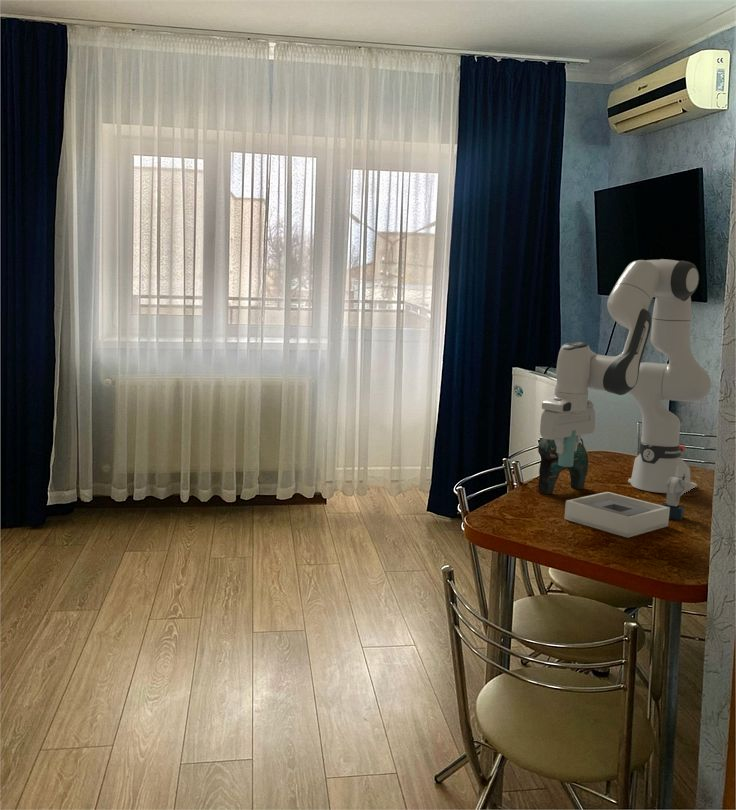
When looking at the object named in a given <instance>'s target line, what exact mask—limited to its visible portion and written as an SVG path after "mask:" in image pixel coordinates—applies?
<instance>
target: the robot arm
mask: <svg viewBox="0 0 736 810" xmlns="http://www.w3.org/2000/svg"><path fill="white" fill-rule="evenodd" d="M699 281H700V272H699V270H698V268H697V266H696V265H695V264H694V263H692V262H691V261H687V260H686V261H685V260H675V259H667V258H666V259H664V258H660V259H646V260H645V259H638V260H633V261H631V262H630V263H629V264H628V265H627V266H626V267H625V268H624V270H623V272H622V273H621V275H620V276H619V278H618V280H617V281H616V283H615V285H614V286H613V288H612V290H611V292H610V293H609V296H608V298H607V303H606V304H607V305H606V306H607V311H608V313H609V315H610V316H611V318H612V320H614V321H615V322H616V323H617V324H618V325H620V326H622V327H623V328H626V330H628V333H627V337H626V340H625V343H624V347H623V349H622V352H621V353H620V354H619V355H616V356H611V355H604V354H599V353H598V354H597V352H594V351H592V349H591V348H590V345H589V344H588V343H587V342H583V341H574V342H573V341H570V342H567V343H564V344H562V345H561V347H560V349H559V352H558V354H557V355H558V356H557V361H556V370H555V376H556V385H555V387H554V394H552V395H551V396H549V397H548V398H547V399H545V400H543V401H542V402H541V409H542V410H543V411H542V413H541V417H540V424H539V434H540V436H541V439H542V438H545V439H550V440H553V439H554V441H555V444H556V447H557V450H556V452H557V453H559V454H562V453H565V447H563V443H562V442H563V441H564V438H565V437H570V436H571V435H572V431H574V430H576V437H575V448H574V451H577V445H578V443H579V442H581V440H580V439H581V438H582V436H583V435H584V436H585V435H591V434H593V433H594V431H595V429H596V414H595V413H596V412H595V408H594V404H593V402H592V401H591V400H589V398H588V397H589V389H590V390H591V389H592V390H596V391H602V392H607V393H610V394H614V395H617V396H624V395H626V394H629V395H630V396H631V398H633V399H634V401H635V402H636V404H637V406H638V407H639V410H640V414H641V421H642V423H641V440H640V441H639V445H638V453H639V454H638V455H637V456H636V457H635V459H634V461H633V466H632V467H633V468H632V473H631V477H630V478H628V480H627V483H630V485H631V486H632V487H634V488H635V489H638V490H642V491H646V492H652V493H657V494H658V493H661V494H667V492H668V487H667V485H665V484H666V483H668V480H669V479H670V477H678V478H681V479H682V480H684V481H685V483H686V488H685V490H684V492H683V494H682V495H685V494H686V492H687V493H689V492H690V490H691V489H693V488H695V487H696V486H697V487H698V483H695V482H693V481H691V468H690V467H689V466H688V464H687V463H686V462H685V461H684V460H683V459H682V457H681V456H682V454H681V453H682V452H685V450H686V446H685V445H683V444H680V435H681V434H680V433H681V426H682V425H681V420H680V418H679V417H678V416H677V415H676V414H675V413H673V412H671V411H670V410H669V409H667V408H666V407H665V406H664V402H663V400H668V401H675V402H684V403H686V402H687V403H688V402H689V403H690V402H701V401H703V400H704V399H706V397H707V396H708V394H709V393H710V390H711V387H712V380H711V377H710V374H709V373H708V372H707V370H705V369H704V368H703V367H702V366H701V365H700V364H699V362H697V360H696V359H695V357H694V354H693V352H692V348H691V339H690V338H691V337H690V336H691V321H692V298H691V297H692V295H693V294H694V293H695V292H696V290H697V288H698V286H699V283H700V282H699ZM653 298H655V299H654V303H653V304H654V305H653V309H652V315H651V312H649V308H650V305H651V303H652V301H653ZM649 336H650V343H651V345H652V346H653V349H655V350H656V351H658V352H660V353H662V354H664V355H665V356H666V357H667V359H668V362H669V363H662V362H661V363H659V362H658V363H657V362H650V361H649V362H648V361H647V362H644V361H643V362H642V359H643V356H644V352H645V349H646V346H647V343H648V339H649ZM697 487H696V488H697ZM696 488H695V489H696ZM693 490H694V489H693ZM688 491H689V492H688ZM691 491H692V490H691ZM684 493H685V494H684Z"/></svg>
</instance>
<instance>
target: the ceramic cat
mask: <svg viewBox="0 0 736 810" xmlns="http://www.w3.org/2000/svg"><path fill="white" fill-rule="evenodd" d="M556 450H557V447H556V444H555V441H554V439H553V440H550V439H545V438H542V437H541V439H540V440H539V443H538V448H537V452H538V454H539V456H540V464H539V469H538V475H539V476H538V483H537V485H538V487H537V488H538V491H540V492H542V493H545V494H544V495H546V494H548V495H552V493H554V490H555V489H554V488H555V486H556V482H557V480H558V477H559V476H560V473H561V472H562V471H565V470H568V473H569V477H570V488H571V487H572V488H573V489H575V490H577V489H578V490H582V489H584V488H585V482H586V479H587V476H588V475H587V474H588V472H589V471H588V470H589V469H588V468H589V458H588V457H589V456H588V453H587V450H586V447H585V445H584V440H583V438H582V437H581V439H580V441H579V443H578V445H577V451H574V460H573V466H572V467H564V466H559V465H558V459H559V453H557V452H556ZM538 491H537V492H538ZM542 493H541V494H542Z"/></svg>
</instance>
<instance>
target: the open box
mask: <svg viewBox="0 0 736 810" xmlns="http://www.w3.org/2000/svg"><path fill="white" fill-rule="evenodd" d="M669 512H670V508H669V507H665V506H662V504H658V503H653V502H650V501H646V500H641V499H637V498H634V497H629V496H627V495H622V494H619V493H614V492H609V491H604V492H600V493H595V494H590V495H586V496H581V497H577V498H572V499H567V500H565V507H564V518H563V519H564V520H566V521H568V522H569V521H570V522H573V523H576V524H579V525H583V526H587V527H589V528H590V527H591V528H593V529H597V530H600V531H603V532H607V533H611V534H613V535H617V536H620V537H624V538H628V539H629V538H631V537H635V536H639V535H642V534H645V533H649V532H653V531H656V530H659V529H662V528H666V527H669Z"/></svg>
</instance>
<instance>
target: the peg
mask: <svg viewBox="0 0 736 810" xmlns="http://www.w3.org/2000/svg"><path fill="white" fill-rule="evenodd" d="M575 437H576V430H574V431H572V435H571V436H570V437H565V438H564V441H563V442H562V443H563V447H565V453H562V454H559V459H558V465H559V466H564V467H572V466H573V460H574V448H575Z"/></svg>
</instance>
